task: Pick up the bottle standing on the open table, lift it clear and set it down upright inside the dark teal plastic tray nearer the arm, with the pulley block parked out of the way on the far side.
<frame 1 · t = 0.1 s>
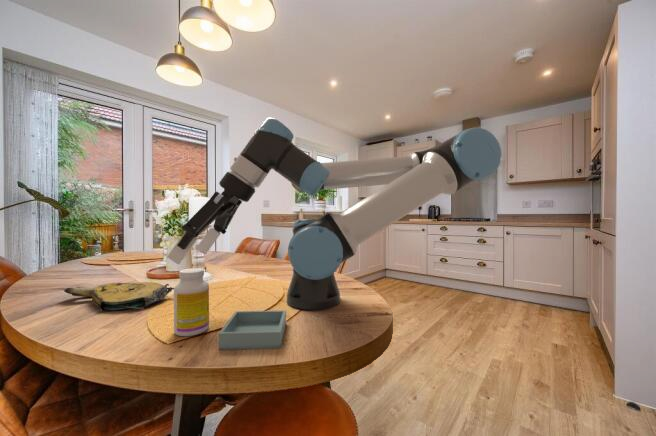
hand: (188, 255, 61), 15 cm above the table, tool tilted 35°, fingers open, 13 cm apart
tray: (255, 335, 55), on the table
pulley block: (116, 303, 75), on the table
supplement bottle: (191, 331, 57), on the table
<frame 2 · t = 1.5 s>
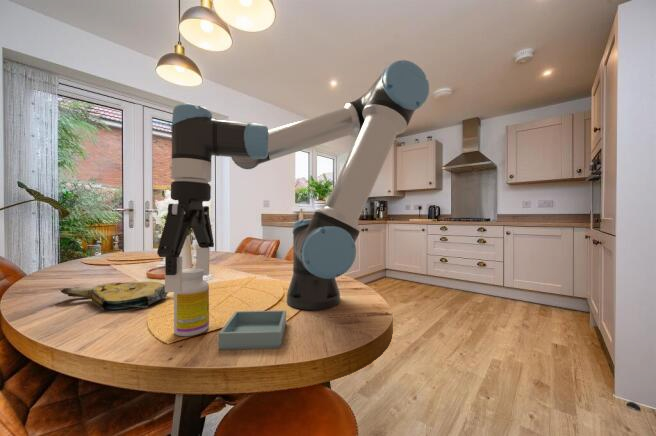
hand: (189, 282, 57), 10 cm above the table, tool pointing down, fingers open, 13 cm apart
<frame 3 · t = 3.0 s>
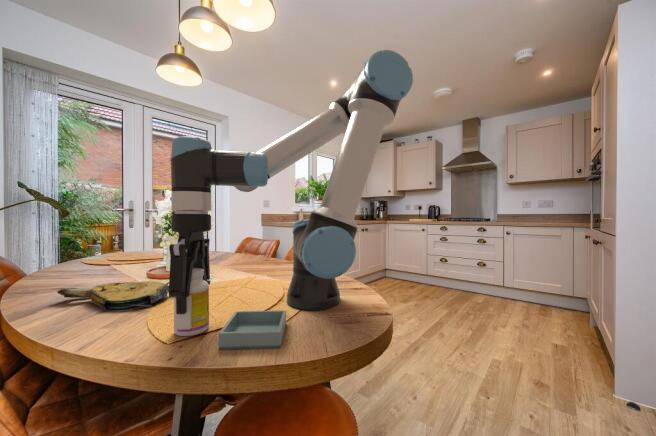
hand: (191, 321, 57), 2 cm above the table, tool pointing down, fingers closed on supplement bottle, 7 cm apart
supplement bottle: (191, 331, 57), on the table, touching gripper
everything else where it was.
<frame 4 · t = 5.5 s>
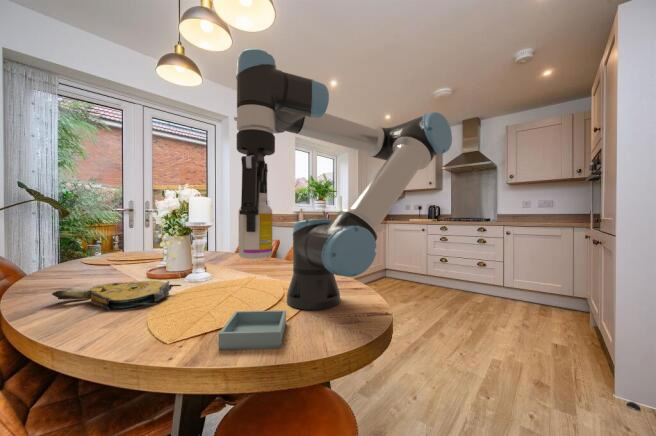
hand: (255, 246, 55), 18 cm above the table, tool pointing down, fingers closed on supplement bottle, 7 cm apart
supplement bottle: (255, 257, 55), point 16 cm above the table, touching gripper
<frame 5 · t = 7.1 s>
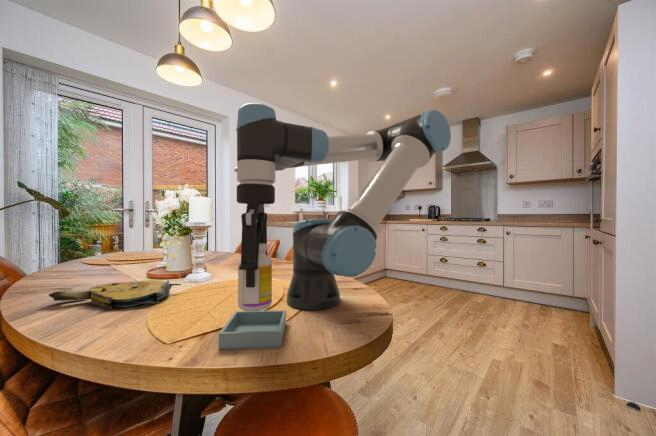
hand: (255, 297, 55), 8 cm above the table, tool pointing down, fingers closed on supplement bottle, 7 cm apart
supplement bottle: (255, 307, 55), point 6 cm above the table, touching gripper
when the fingers open (4 cm above the table, at t = 8.2 s): supplement bottle drops 2 cm, resting on tray.
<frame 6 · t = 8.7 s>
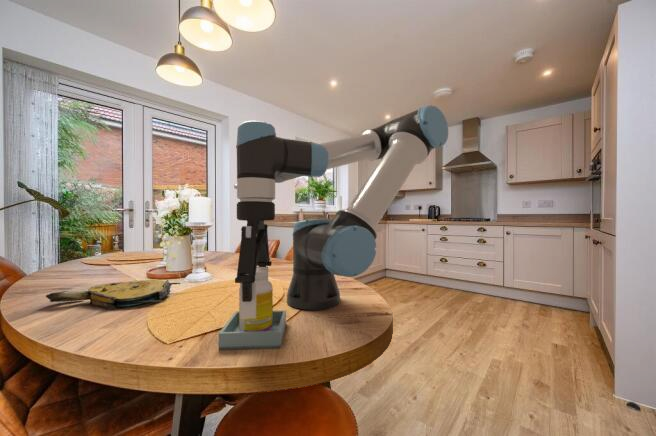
hand: (255, 305, 55), 6 cm above the table, tool pointing down, fingers open, 13 cm apart
supplement bottle: (256, 333, 55), resting on tray
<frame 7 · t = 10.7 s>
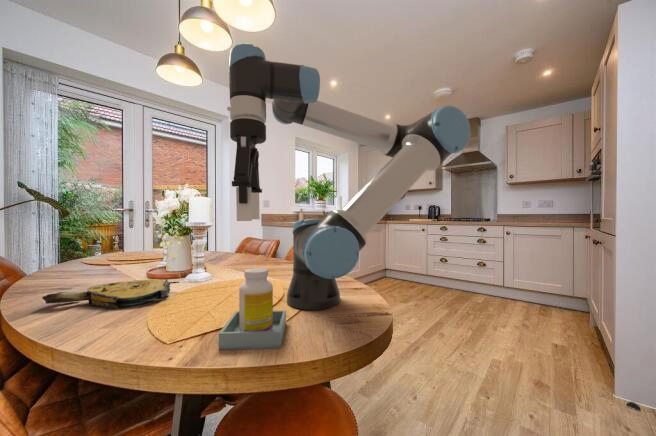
hand: (249, 220, 59), 23 cm above the table, tool pointing down, fingers open, 13 cm apart
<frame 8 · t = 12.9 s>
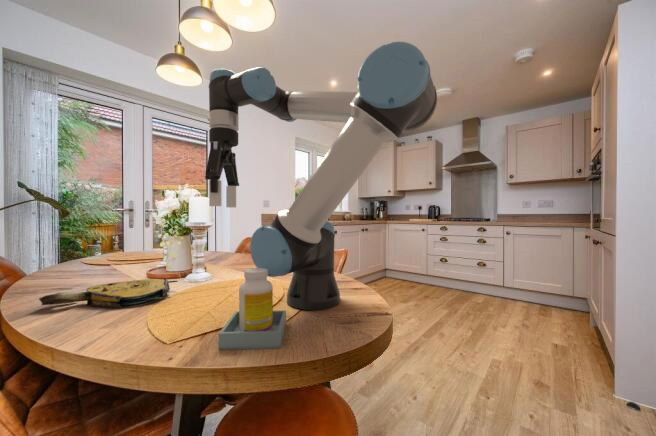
hand: (224, 207, 75), 27 cm above the table, tool pointing down, fingers open, 13 cm apart
at the end: supplement bottle inside the target area on the tray (0.3 cm from its centre), point 0.3 cm above the tray's base; supplement bottle tilted 0°; the gripper is holding nothing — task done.
